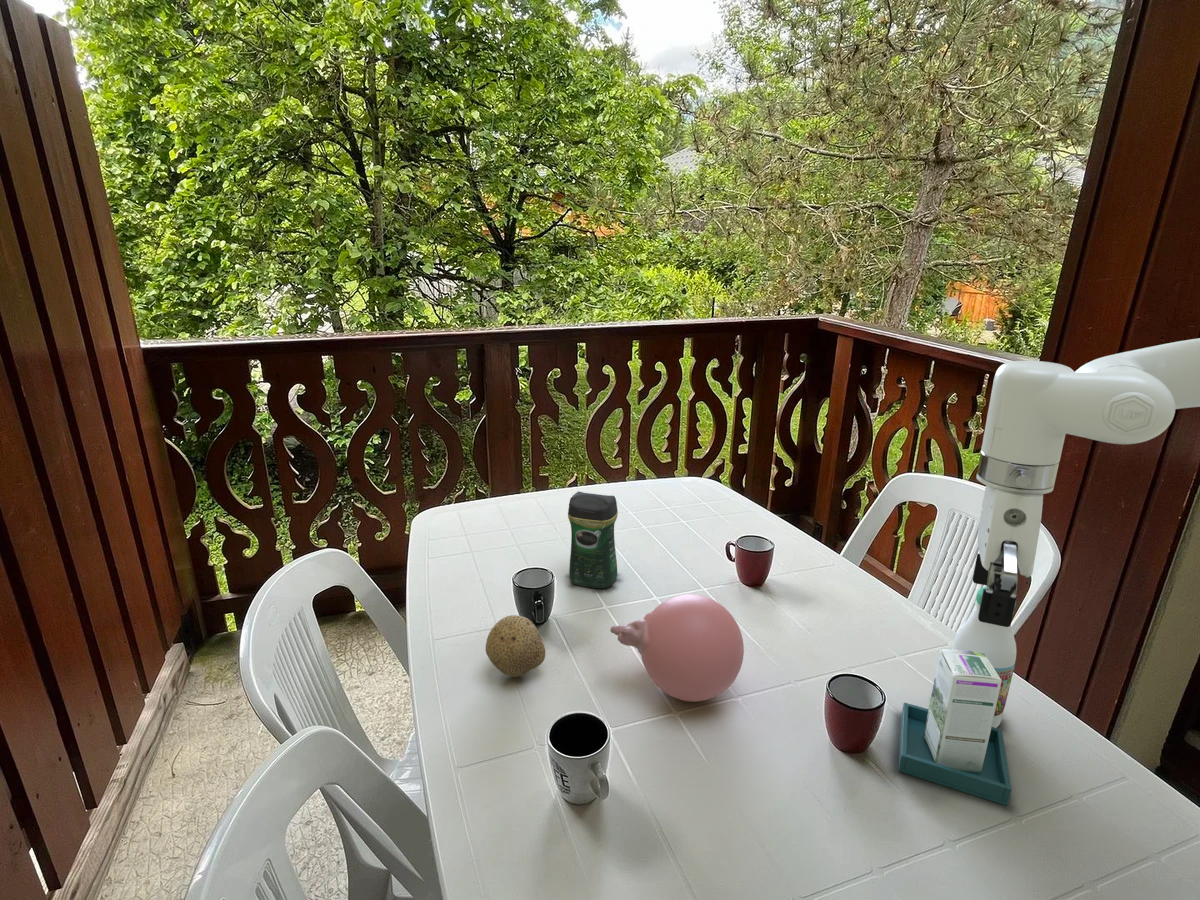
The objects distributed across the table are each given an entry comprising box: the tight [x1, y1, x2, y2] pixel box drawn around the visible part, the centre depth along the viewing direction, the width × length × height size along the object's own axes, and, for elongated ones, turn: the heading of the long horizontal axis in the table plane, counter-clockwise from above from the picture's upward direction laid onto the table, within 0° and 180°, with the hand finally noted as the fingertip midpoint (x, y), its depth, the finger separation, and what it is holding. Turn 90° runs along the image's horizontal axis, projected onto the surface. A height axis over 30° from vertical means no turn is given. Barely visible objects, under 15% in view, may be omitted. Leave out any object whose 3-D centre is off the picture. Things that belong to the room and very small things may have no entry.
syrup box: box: [924, 648, 1002, 773], centre depth 83 cm, size 6×6×14 cm
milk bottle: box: [951, 586, 1017, 728], centre depth 90 cm, size 8×8×20 cm
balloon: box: [610, 593, 745, 703], centre depth 96 cm, size 15×20×15 cm
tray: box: [898, 702, 1012, 807], centre depth 85 cm, size 12×11×3 cm
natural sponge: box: [485, 614, 546, 678], centre depth 100 cm, size 9×9×10 cm
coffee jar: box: [567, 491, 619, 589], centre depth 127 cm, size 10×8×19 cm
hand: (989, 602), depth 78 cm, fingers open, 9 cm apart
